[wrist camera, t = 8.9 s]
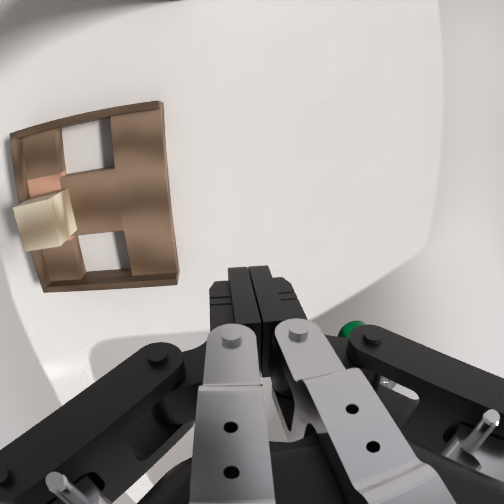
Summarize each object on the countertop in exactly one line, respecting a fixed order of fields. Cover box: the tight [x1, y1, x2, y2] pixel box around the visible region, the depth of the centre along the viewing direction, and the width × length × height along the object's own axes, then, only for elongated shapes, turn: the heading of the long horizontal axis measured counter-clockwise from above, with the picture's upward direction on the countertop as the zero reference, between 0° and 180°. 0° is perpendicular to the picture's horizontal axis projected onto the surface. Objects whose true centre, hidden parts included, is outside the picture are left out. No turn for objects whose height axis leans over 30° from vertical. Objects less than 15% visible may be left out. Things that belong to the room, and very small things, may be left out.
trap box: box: [10, 101, 179, 293], centre depth 32 cm, size 20×18×4 cm
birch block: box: [13, 188, 77, 252], centre depth 29 cm, size 5×5×5 cm
